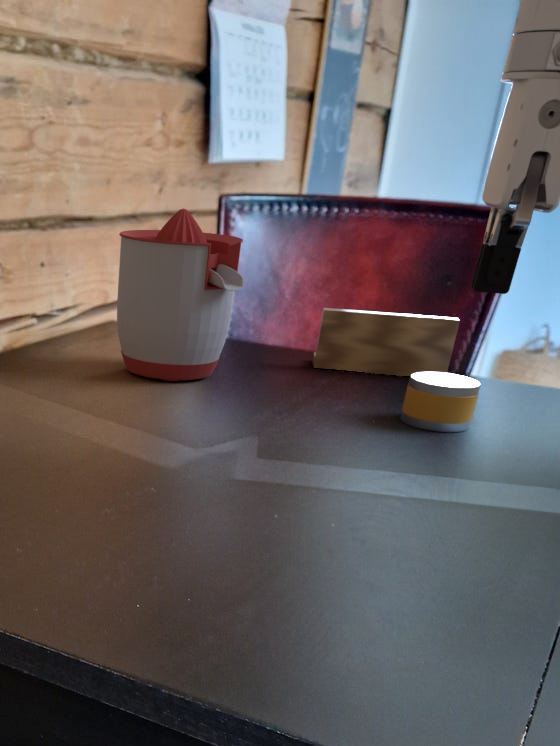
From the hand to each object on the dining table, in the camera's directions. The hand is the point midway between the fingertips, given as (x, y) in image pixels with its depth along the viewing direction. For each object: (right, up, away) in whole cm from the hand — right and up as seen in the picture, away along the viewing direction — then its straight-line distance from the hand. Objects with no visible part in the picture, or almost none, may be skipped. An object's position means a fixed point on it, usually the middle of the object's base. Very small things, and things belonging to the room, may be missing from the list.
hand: (488, 291), depth 82 cm
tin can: (+2, -8, +17) cm, 19 cm away
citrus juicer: (-27, +2, +33) cm, 43 cm away
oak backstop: (+3, +5, +41) cm, 41 cm away
